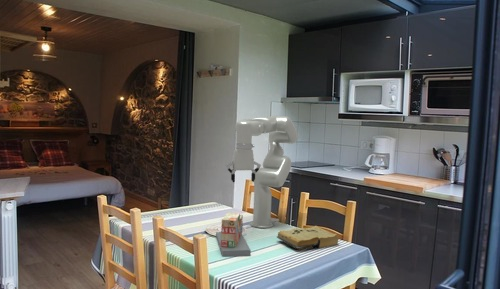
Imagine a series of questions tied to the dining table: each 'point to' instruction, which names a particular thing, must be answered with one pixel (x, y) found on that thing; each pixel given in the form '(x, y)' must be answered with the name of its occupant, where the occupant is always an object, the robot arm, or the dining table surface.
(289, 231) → the book
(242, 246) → the grey plinth
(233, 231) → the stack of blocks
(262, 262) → the dining table surface
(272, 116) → the robot arm
